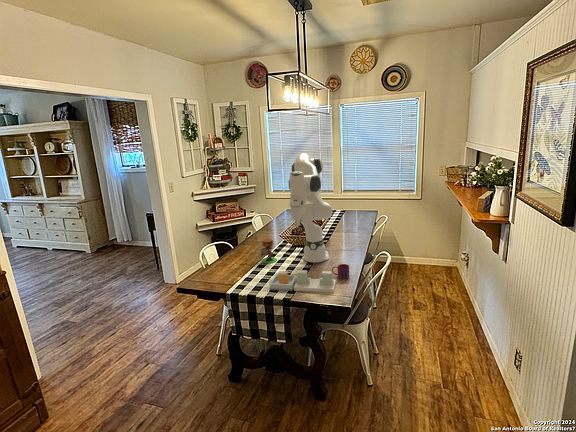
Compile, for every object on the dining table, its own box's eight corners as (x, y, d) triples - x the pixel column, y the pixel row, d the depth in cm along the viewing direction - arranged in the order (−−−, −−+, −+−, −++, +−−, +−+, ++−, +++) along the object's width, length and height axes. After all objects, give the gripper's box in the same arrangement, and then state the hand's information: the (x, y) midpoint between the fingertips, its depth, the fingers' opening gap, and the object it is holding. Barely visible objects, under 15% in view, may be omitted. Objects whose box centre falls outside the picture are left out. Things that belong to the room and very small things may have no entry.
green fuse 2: (323, 282, 182) (322, 271, 180) (332, 283, 181) (331, 271, 179) (322, 285, 179) (322, 273, 178) (331, 285, 178) (331, 273, 176)
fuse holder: (298, 281, 191) (298, 273, 189) (335, 282, 185) (335, 274, 184) (293, 290, 179) (293, 282, 178) (333, 292, 174) (333, 284, 173)
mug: (348, 279, 188) (348, 268, 187) (331, 278, 192) (331, 267, 190) (350, 274, 194) (349, 264, 193) (333, 273, 198) (333, 263, 196)
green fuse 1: (299, 281, 186) (298, 270, 184) (307, 281, 184) (307, 270, 183) (298, 283, 183) (297, 272, 181) (306, 284, 181) (306, 272, 180)
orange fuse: (280, 282, 189) (279, 271, 187) (288, 282, 188) (287, 271, 186) (278, 284, 186) (278, 273, 184) (287, 284, 185) (286, 273, 183)
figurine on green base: (280, 257, 231) (278, 237, 228) (274, 264, 219) (272, 243, 216) (264, 256, 234) (262, 237, 231) (258, 263, 223) (256, 242, 219)
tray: (276, 279, 195) (275, 274, 194) (297, 280, 191) (296, 275, 191) (269, 289, 182) (269, 284, 182) (292, 290, 179) (291, 285, 178)
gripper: (296, 197, 193) (298, 219, 196) (288, 204, 174) (290, 228, 177) (307, 196, 192) (308, 219, 195) (300, 203, 172) (301, 228, 176)
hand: (299, 223), depth 186 cm, fingers open, 8 cm apart
